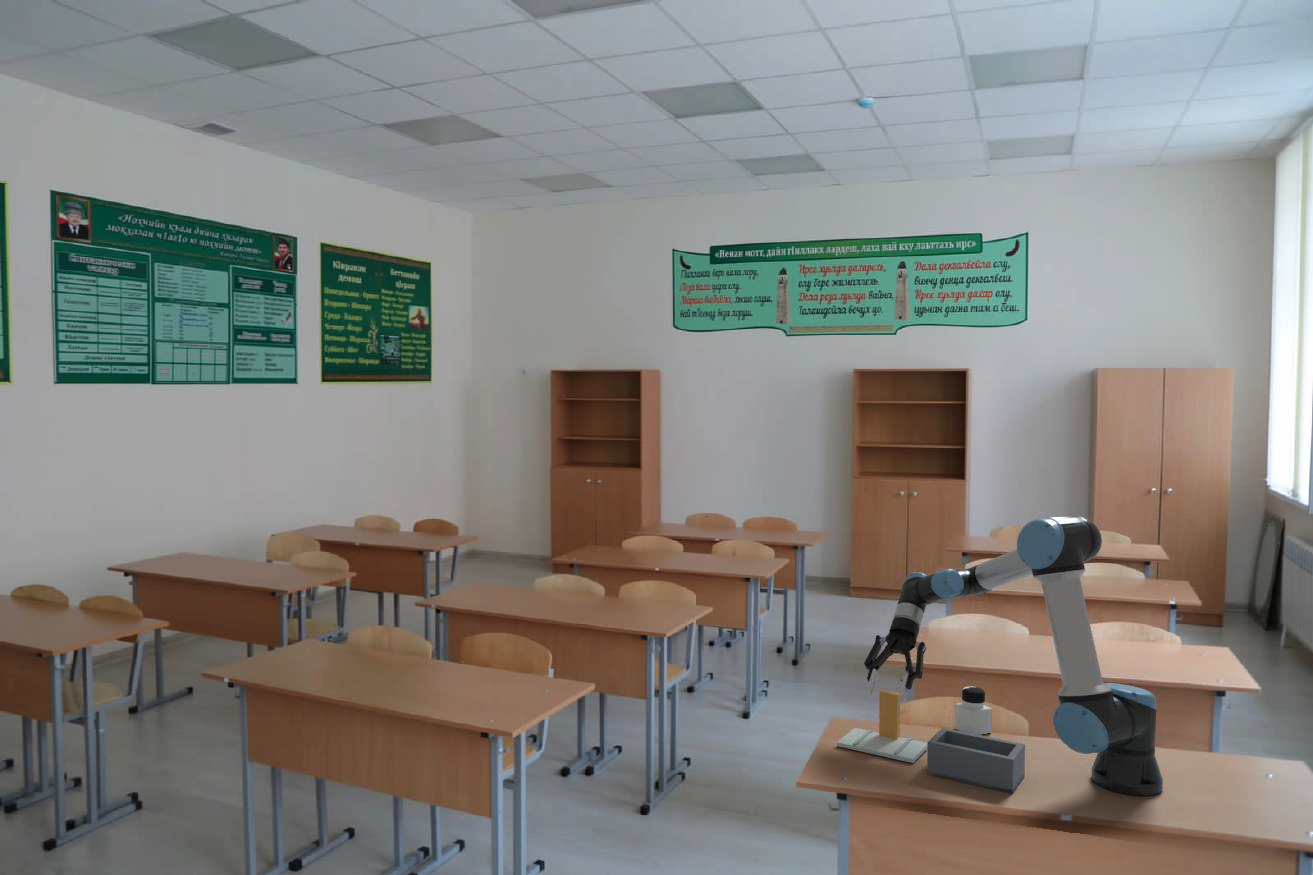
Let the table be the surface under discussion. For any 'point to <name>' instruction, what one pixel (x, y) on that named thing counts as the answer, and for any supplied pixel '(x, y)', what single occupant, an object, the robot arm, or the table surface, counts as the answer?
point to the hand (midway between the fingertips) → (885, 695)
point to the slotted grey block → (885, 734)
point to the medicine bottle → (973, 712)
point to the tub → (976, 760)
